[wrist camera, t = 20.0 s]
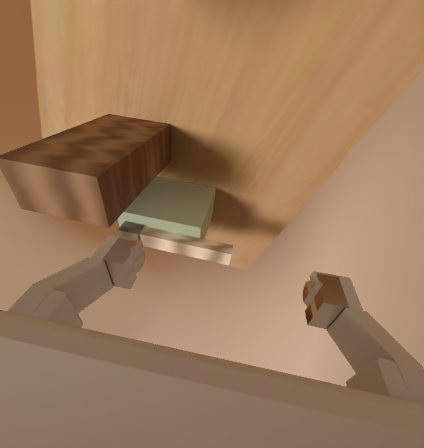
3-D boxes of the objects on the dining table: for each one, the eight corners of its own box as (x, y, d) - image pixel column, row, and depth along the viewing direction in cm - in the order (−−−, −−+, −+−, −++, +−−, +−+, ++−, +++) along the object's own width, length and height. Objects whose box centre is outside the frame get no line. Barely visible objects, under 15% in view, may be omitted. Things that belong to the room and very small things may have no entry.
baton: (233, 244, 43) (231, 255, 40) (230, 257, 45) (228, 268, 43) (125, 220, 44) (117, 229, 42) (127, 234, 47) (120, 243, 44)
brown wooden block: (170, 124, 47) (96, 177, 27) (170, 160, 52) (109, 227, 32) (108, 114, 48) (-6, 157, 28) (114, 150, 53) (21, 208, 33)
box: (216, 187, 54) (200, 227, 42) (212, 214, 59) (198, 257, 47) (149, 175, 56) (116, 210, 43) (152, 202, 61) (122, 240, 48)
